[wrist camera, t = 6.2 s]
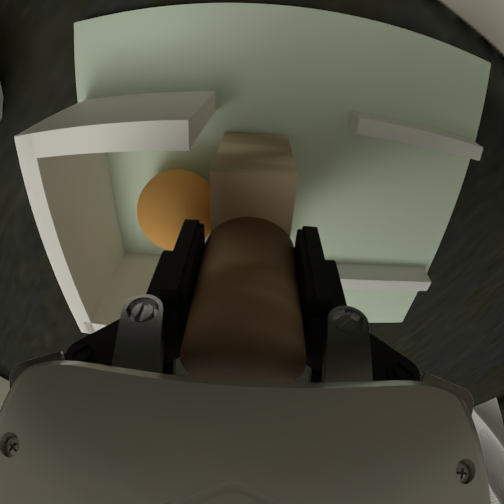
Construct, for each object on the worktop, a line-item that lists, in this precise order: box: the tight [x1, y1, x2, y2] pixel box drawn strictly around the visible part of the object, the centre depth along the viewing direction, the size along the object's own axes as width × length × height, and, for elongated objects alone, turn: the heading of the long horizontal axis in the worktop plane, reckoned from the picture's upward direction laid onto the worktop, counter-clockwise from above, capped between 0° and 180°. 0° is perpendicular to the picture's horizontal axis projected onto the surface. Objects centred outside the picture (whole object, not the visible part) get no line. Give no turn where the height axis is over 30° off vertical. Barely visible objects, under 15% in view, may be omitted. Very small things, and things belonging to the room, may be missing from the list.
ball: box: [137, 169, 211, 251], centre depth 15 cm, size 4×4×4 cm
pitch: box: [14, 3, 491, 334], centre depth 15 cm, size 22×20×7 cm
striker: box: [180, 132, 307, 383], centre depth 13 cm, size 4×7×10 cm, turn 177°
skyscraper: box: [472, 397, 504, 504], centre depth 29 cm, size 8×8×28 cm
